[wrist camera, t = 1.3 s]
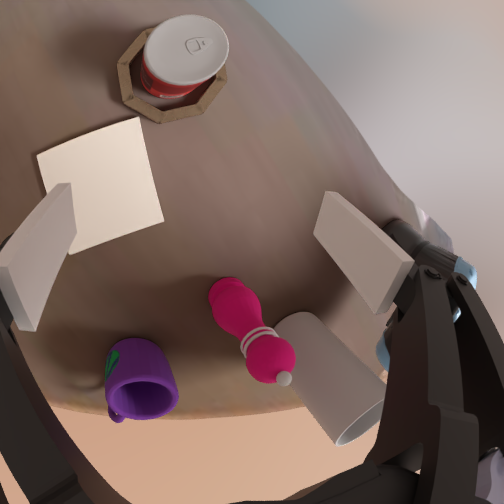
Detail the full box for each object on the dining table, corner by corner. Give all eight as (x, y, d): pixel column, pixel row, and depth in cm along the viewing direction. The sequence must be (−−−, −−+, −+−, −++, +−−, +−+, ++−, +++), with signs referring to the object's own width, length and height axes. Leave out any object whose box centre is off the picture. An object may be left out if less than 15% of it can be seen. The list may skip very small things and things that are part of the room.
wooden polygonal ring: (213, 24, 27) (217, 20, 25) (228, 109, 33) (232, 108, 32) (114, 41, 23) (113, 36, 22) (129, 132, 29) (128, 132, 28)
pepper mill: (197, 289, 42) (248, 387, 25) (237, 265, 43) (308, 349, 27) (216, 319, 46) (269, 411, 29) (253, 297, 47) (319, 379, 30)
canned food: (213, 75, 30) (245, 54, 21) (165, 112, 30) (179, 101, 21) (178, 35, 26) (198, 0, 17) (128, 72, 26) (126, 45, 17)
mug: (122, 321, 39) (126, 366, 30) (179, 347, 45) (194, 390, 37) (82, 381, 39) (82, 425, 31) (133, 400, 46) (140, 441, 37)
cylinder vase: (315, 300, 54) (404, 381, 33) (317, 340, 60) (388, 415, 39) (259, 327, 50) (338, 429, 30) (269, 365, 57) (333, 453, 36)
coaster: (138, 117, 29) (138, 116, 28) (163, 219, 36) (164, 221, 35) (39, 154, 25) (36, 155, 24) (71, 252, 31) (69, 255, 31)
